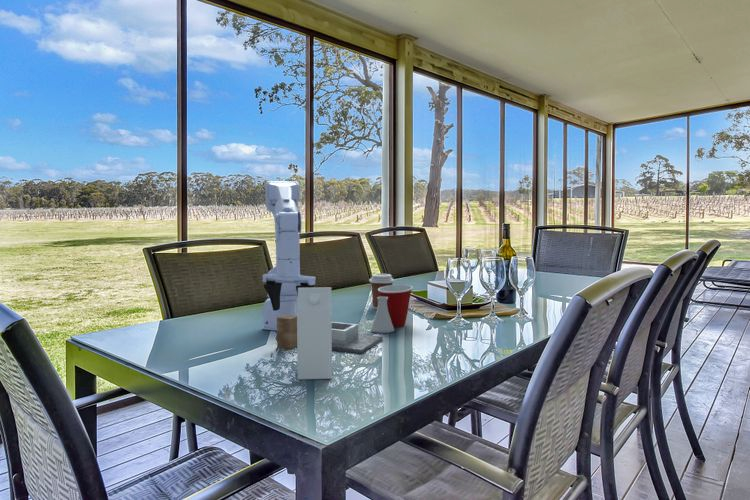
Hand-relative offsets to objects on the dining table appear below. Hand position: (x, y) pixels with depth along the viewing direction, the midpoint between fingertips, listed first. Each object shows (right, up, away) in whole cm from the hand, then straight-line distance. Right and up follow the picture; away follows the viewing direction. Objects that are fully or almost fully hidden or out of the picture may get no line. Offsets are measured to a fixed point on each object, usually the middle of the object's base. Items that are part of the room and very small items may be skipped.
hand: (289, 311), depth 129 cm
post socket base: (+12, -9, +5) cm, 16 cm away
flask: (+24, -8, +18) cm, 32 cm away
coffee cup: (+25, -5, +53) cm, 59 cm away
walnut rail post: (0, -9, +1) cm, 10 cm away
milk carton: (+9, -11, -21) cm, 25 cm away
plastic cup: (+28, -8, +25) cm, 39 cm away
